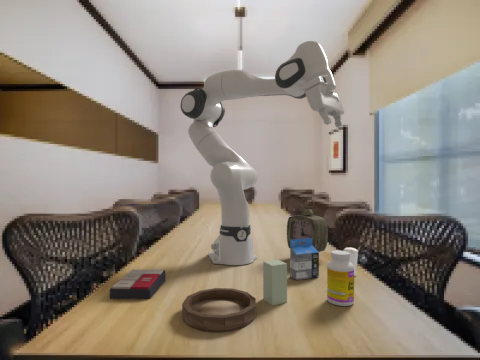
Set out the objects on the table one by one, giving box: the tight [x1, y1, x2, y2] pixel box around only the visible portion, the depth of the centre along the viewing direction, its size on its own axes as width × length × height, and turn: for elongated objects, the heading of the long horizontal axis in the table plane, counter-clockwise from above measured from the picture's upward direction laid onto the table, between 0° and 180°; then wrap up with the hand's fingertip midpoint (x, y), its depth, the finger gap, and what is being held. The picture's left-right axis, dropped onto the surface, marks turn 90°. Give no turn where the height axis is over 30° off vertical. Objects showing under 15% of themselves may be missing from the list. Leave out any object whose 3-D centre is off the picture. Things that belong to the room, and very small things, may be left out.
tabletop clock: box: [286, 197, 329, 253], centre depth 118 cm, size 14×9×25 cm, turn 38°
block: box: [262, 259, 288, 306], centre depth 77 cm, size 4×4×10 cm
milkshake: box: [343, 245, 361, 277], centre depth 98 cm, size 4×5×10 cm
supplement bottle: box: [326, 249, 355, 307], centre depth 76 cm, size 7×7×13 cm
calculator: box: [109, 269, 167, 300], centre depth 85 cm, size 11×4×15 cm
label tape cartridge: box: [289, 238, 320, 281], centre depth 96 cm, size 9×4×12 cm, turn 112°
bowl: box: [181, 287, 257, 333], centre depth 69 cm, size 17×17×3 cm
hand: (334, 125), depth 96 cm, fingers open, 8 cm apart
